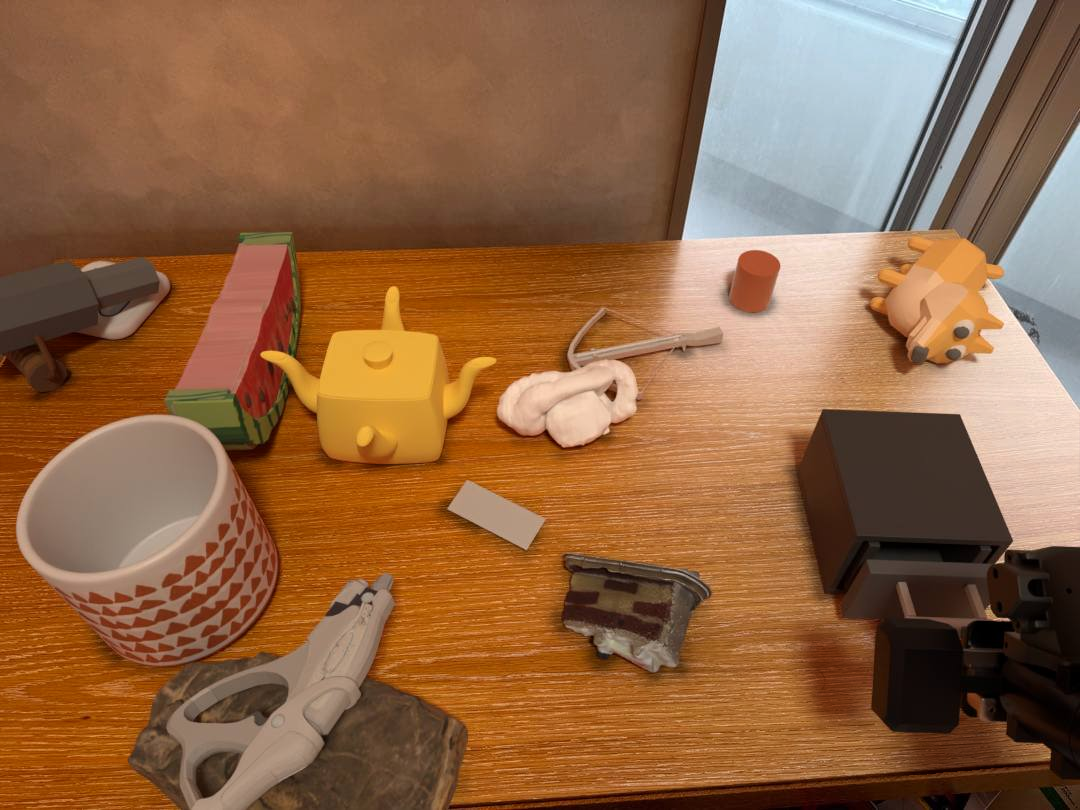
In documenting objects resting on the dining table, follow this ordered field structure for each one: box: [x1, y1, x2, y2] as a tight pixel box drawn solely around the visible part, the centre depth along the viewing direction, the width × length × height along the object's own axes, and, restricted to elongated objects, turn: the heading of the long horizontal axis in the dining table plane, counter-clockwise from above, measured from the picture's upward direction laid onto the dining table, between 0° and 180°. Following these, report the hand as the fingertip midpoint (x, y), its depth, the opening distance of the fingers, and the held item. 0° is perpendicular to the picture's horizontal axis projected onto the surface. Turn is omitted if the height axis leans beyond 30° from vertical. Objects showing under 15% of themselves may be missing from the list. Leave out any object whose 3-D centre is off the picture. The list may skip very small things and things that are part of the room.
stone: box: [127, 651, 469, 810], centre depth 55 cm, size 13×21×5 cm, turn 61°
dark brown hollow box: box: [796, 408, 1014, 595], centre depth 68 cm, size 12×11×8 cm
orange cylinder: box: [728, 249, 781, 313], centre depth 89 cm, size 4×4×5 cm
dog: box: [869, 236, 1005, 365], centre depth 86 cm, size 8×20×13 cm
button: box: [74, 260, 171, 341], centre depth 87 cm, size 10×2×10 cm
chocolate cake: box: [561, 551, 714, 673], centre depth 63 cm, size 10×7×12 cm
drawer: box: [839, 541, 995, 638], centre depth 64 cm, size 16×10×7 cm, turn 179°
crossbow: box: [566, 306, 724, 401], centre depth 84 cm, size 16×13×2 cm
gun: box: [166, 572, 396, 810], centre depth 54 cm, size 3×19×10 cm
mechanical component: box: [0, 256, 160, 393], centre depth 80 cm, size 10×18×10 cm, turn 139°
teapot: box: [260, 285, 497, 465], centre depth 73 cm, size 15×14×10 cm
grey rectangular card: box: [446, 479, 547, 551], centre depth 70 cm, size 3×8×1 cm, turn 59°
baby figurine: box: [496, 359, 639, 448], centre depth 76 cm, size 9×12×8 cm
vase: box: [15, 413, 279, 668], centre depth 60 cm, size 14×14×13 cm
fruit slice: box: [163, 231, 302, 451], centre depth 76 cm, size 26×6×10 cm, turn 3°
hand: (965, 633), depth 57 cm, fingers closed, pressing on drawer
